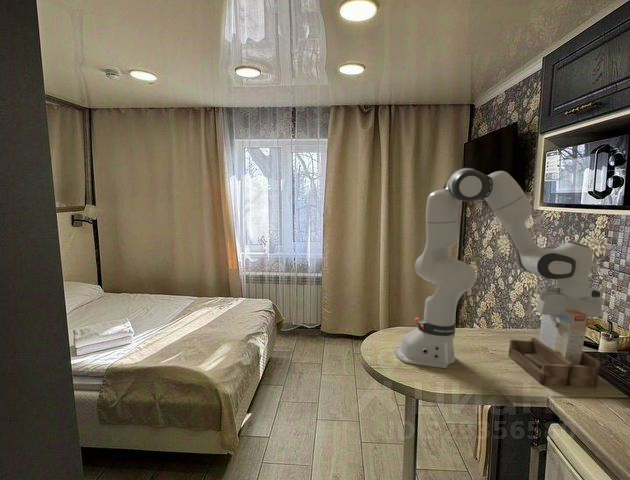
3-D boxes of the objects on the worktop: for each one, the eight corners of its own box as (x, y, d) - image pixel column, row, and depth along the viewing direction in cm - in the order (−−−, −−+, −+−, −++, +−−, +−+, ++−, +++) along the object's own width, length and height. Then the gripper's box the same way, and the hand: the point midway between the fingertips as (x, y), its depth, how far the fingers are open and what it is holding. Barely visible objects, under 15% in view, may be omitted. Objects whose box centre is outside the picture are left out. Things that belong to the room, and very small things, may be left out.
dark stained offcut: (539, 370, 118) (540, 364, 118) (523, 359, 126) (524, 353, 126) (551, 370, 119) (552, 364, 119) (534, 358, 127) (535, 353, 126)
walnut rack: (541, 388, 113) (545, 359, 112) (507, 359, 133) (510, 334, 131) (595, 390, 113) (600, 361, 112) (554, 361, 133) (557, 336, 131)
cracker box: (580, 373, 117) (589, 314, 114) (562, 373, 117) (571, 313, 114) (551, 354, 131) (559, 301, 128) (535, 354, 131) (543, 301, 128)
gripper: (547, 290, 116) (541, 329, 117) (608, 293, 116) (601, 332, 117) (535, 285, 122) (530, 322, 124) (593, 288, 122) (587, 325, 124)
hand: (565, 327), depth 121 cm, fingers closed on cracker box, 6 cm apart
